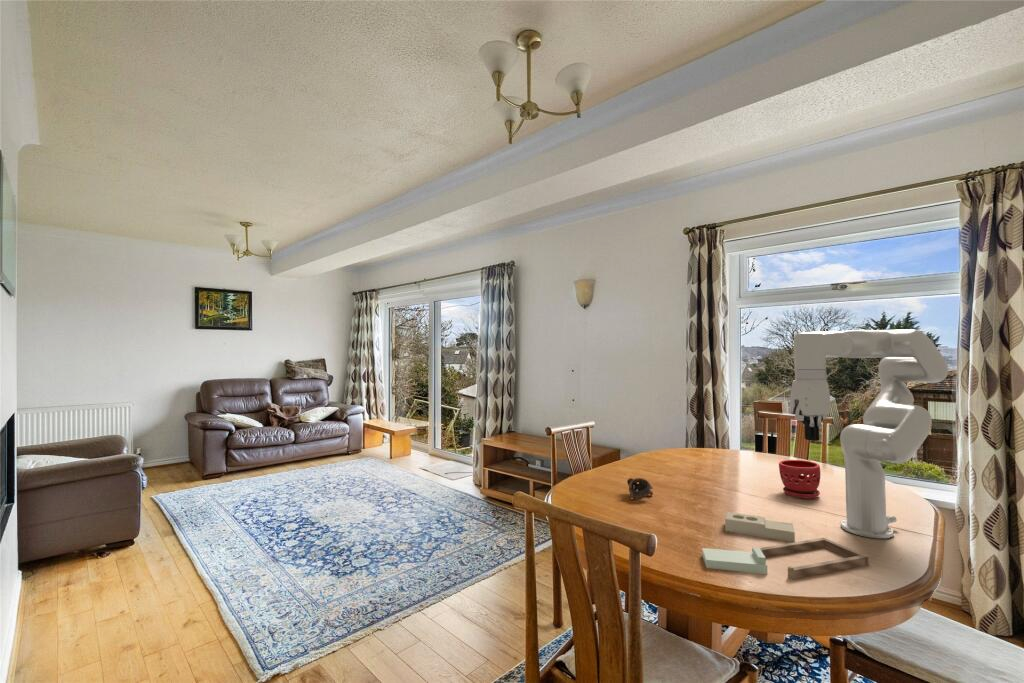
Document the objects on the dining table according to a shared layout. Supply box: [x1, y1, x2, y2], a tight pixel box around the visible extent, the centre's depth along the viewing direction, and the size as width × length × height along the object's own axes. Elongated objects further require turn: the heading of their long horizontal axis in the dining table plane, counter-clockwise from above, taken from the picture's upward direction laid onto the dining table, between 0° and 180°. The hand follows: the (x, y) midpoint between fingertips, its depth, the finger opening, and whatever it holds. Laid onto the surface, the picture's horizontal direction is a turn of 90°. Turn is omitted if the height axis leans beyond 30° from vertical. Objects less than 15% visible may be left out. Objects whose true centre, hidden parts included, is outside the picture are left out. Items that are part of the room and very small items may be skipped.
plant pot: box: [778, 459, 821, 500], centre depth 172 cm, size 13×13×12 cm
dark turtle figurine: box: [627, 477, 654, 499], centre depth 172 cm, size 12×10×8 cm
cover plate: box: [701, 546, 769, 575], centre depth 118 cm, size 14×7×4 cm, turn 75°
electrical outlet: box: [724, 511, 796, 543], centre depth 138 cm, size 7×4×18 cm
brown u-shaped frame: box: [751, 537, 870, 580], centre depth 120 cm, size 24×12×2 cm, turn 106°
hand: (812, 439), depth 131 cm, fingers closed
